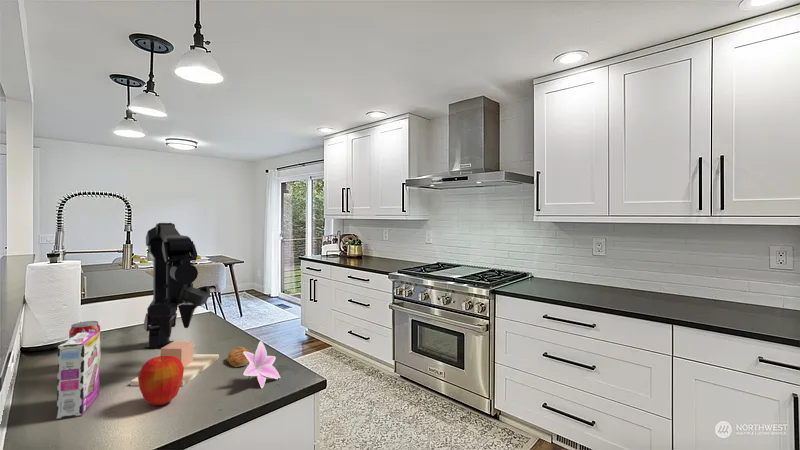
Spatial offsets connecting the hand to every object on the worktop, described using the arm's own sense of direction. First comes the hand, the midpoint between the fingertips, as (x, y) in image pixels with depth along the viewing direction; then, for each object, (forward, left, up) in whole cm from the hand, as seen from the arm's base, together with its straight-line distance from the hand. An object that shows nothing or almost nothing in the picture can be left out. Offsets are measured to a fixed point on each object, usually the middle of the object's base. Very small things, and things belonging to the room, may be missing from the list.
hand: (177, 332), depth 110 cm
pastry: (-7, +16, -12) cm, 21 cm away
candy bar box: (+22, -10, -11) cm, 27 cm away
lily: (+8, +27, -11) cm, 30 cm away
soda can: (-1, -28, -11) cm, 30 cm away
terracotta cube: (0, 0, -10) cm, 10 cm away
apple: (+20, +8, -11) cm, 24 cm away
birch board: (+1, +1, -11) cm, 11 cm away
